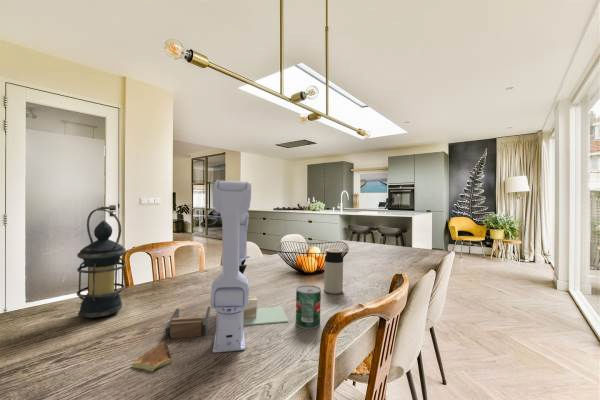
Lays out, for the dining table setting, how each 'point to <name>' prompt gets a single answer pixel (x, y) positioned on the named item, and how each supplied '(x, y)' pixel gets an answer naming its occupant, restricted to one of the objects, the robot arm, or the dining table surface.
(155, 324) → the dining table surface
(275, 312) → the rubber mat
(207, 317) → the rack
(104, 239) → the lantern
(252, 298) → the birch block
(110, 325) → the dining table surface
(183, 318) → the offcut stack
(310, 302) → the canned tomato
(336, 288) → the travel mug
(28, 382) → the dining table surface
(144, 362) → the shard
